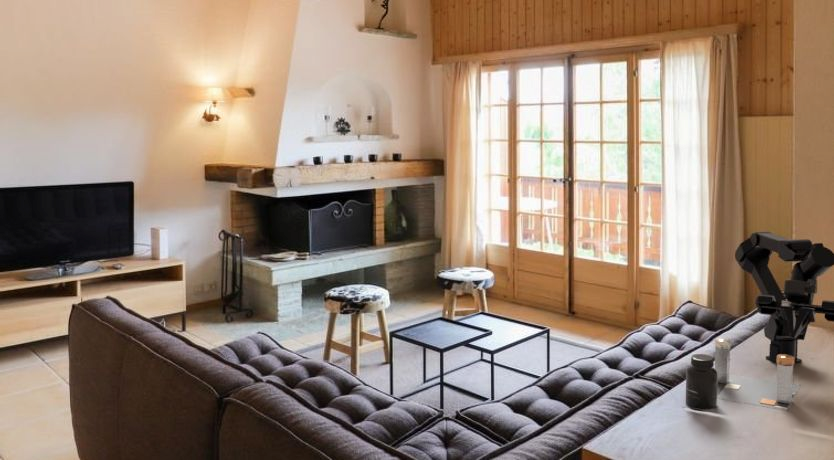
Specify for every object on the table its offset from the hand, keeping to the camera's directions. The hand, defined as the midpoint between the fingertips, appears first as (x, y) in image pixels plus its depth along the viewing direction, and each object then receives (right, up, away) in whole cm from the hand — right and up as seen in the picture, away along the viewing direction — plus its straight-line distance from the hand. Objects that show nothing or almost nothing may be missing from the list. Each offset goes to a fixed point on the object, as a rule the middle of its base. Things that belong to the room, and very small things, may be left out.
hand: (792, 337), depth 172 cm
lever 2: (-7, -14, -8) cm, 17 cm away
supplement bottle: (-25, -15, -7) cm, 30 cm away
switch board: (-10, -13, -1) cm, 17 cm away
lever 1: (-15, -12, +5) cm, 20 cm away
